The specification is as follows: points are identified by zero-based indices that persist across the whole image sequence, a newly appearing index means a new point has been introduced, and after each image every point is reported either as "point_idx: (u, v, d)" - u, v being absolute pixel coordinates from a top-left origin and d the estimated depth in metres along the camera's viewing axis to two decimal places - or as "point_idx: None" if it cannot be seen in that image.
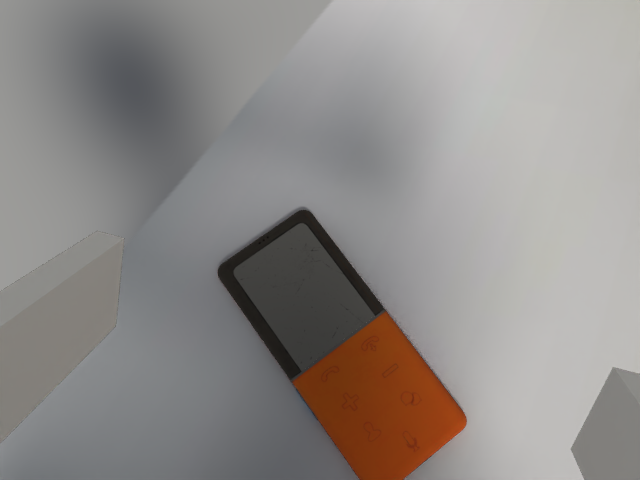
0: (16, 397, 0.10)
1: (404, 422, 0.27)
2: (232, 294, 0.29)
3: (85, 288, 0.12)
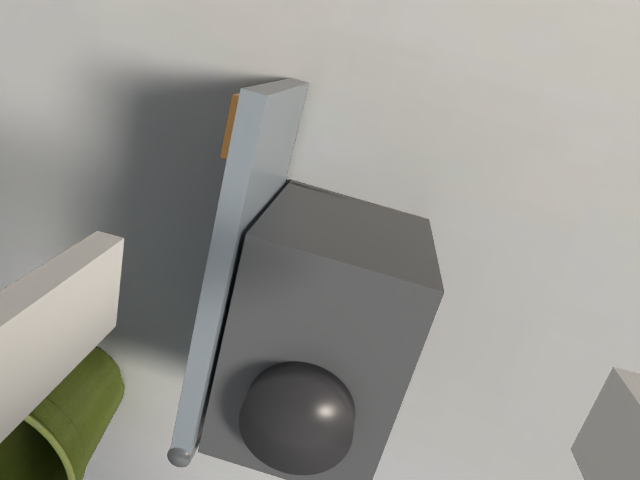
0: (16, 397, 0.10)
1: None
2: None
3: (85, 288, 0.12)
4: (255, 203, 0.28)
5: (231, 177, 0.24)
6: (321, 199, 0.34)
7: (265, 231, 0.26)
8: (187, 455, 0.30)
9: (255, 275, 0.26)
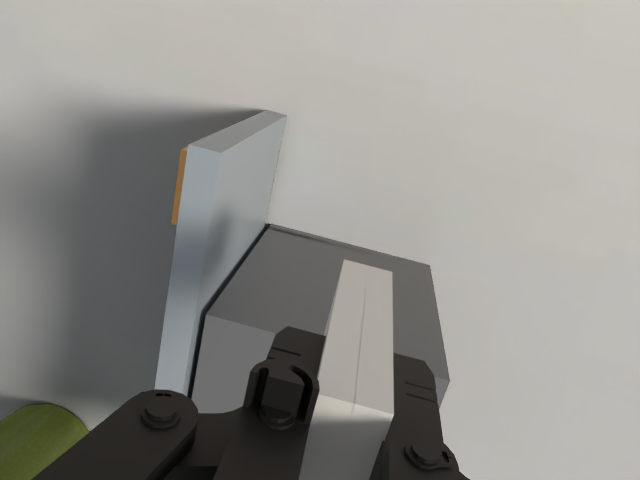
0: None
1: None
2: None
3: None
4: (220, 271, 0.23)
5: (183, 250, 0.20)
6: (304, 249, 0.30)
7: (231, 307, 0.22)
8: None
9: (220, 362, 0.22)
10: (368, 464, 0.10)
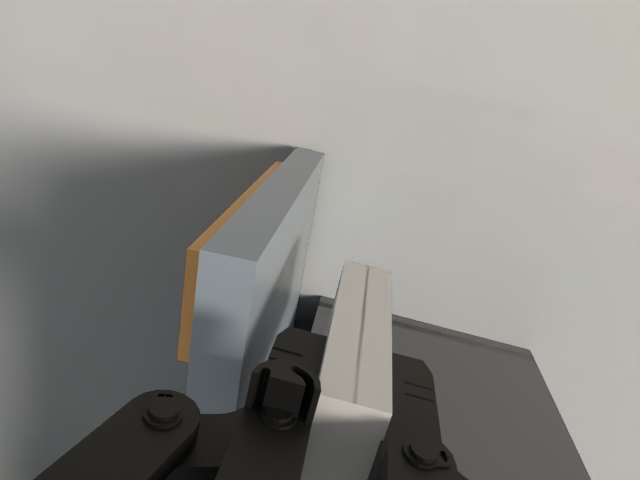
0: None
1: None
2: None
3: None
4: None
5: None
6: None
7: None
8: None
9: None
10: (366, 464, 0.10)
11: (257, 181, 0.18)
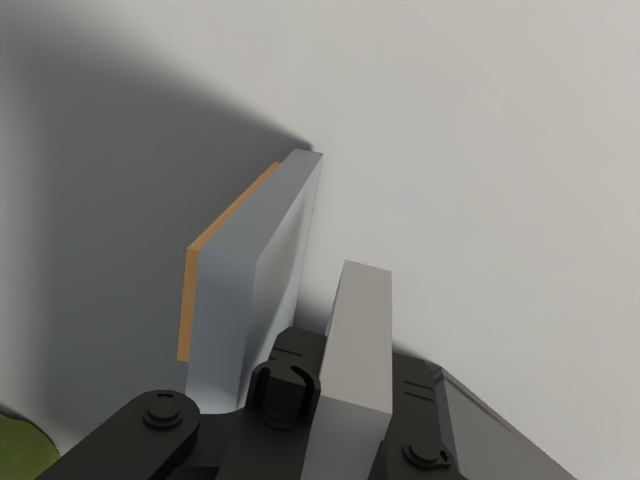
0: None
1: None
2: None
3: None
4: None
5: None
6: (490, 436, 0.23)
7: None
8: None
9: None
10: (367, 464, 0.10)
11: (256, 181, 0.18)
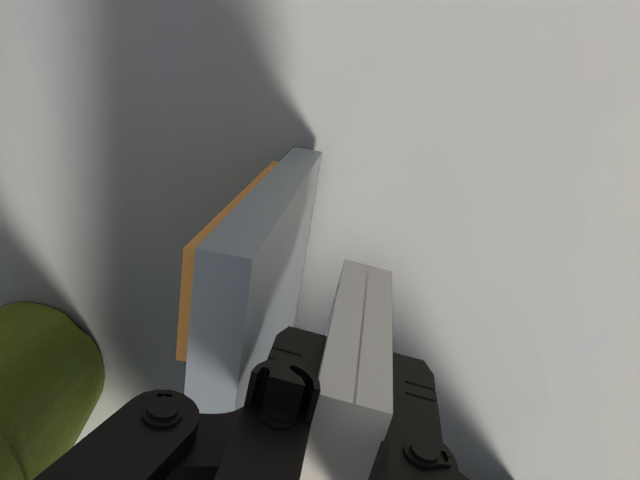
0: None
1: None
2: None
3: None
4: None
5: None
6: None
7: None
8: None
9: None
10: (367, 464, 0.10)
11: (254, 180, 0.18)
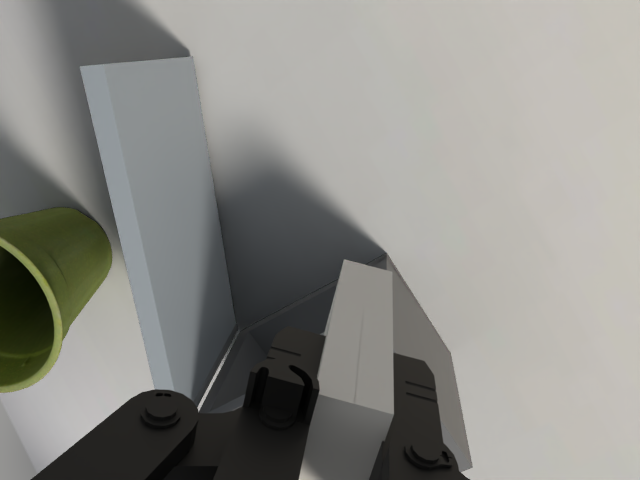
0: None
1: None
2: None
3: None
4: (153, 172, 0.29)
5: (105, 150, 0.26)
6: (404, 295, 0.38)
7: None
8: None
9: None
10: (368, 464, 0.10)
11: None
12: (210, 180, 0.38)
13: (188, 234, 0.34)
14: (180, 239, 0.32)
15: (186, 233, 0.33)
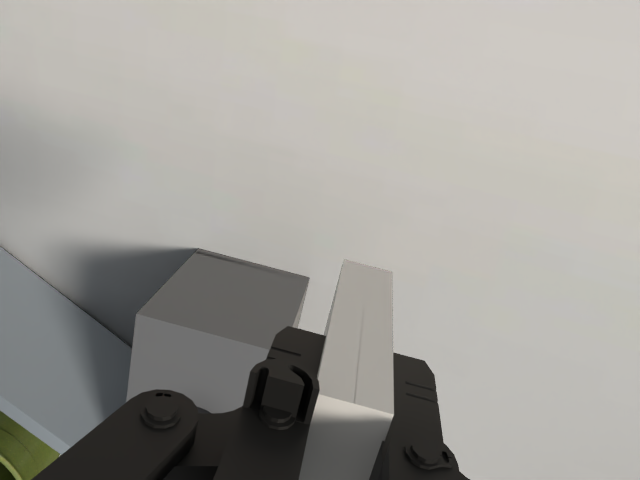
0: None
1: None
2: None
3: None
4: None
5: None
6: (217, 267, 0.43)
7: (153, 309, 0.35)
8: None
9: (146, 343, 0.35)
10: (368, 464, 0.10)
11: None
12: (60, 298, 0.48)
13: (43, 344, 0.43)
14: (30, 352, 0.42)
15: (38, 345, 0.43)
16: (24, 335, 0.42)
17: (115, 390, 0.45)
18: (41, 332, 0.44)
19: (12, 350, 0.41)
